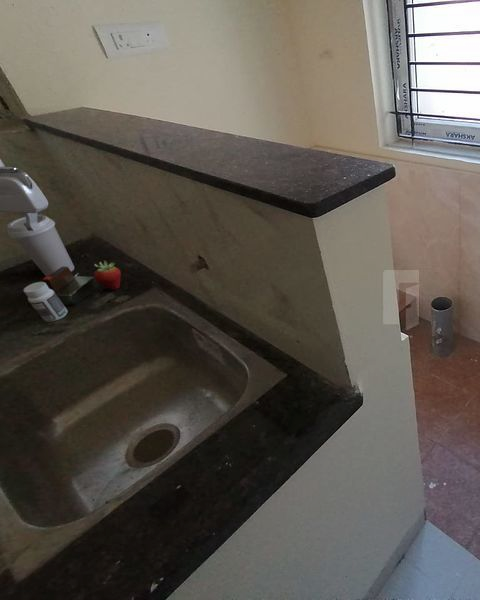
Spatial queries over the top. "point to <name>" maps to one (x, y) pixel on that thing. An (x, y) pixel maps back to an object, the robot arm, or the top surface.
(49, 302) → the pill bottle
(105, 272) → the fruit
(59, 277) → the dark red block
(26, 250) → the coffee cup
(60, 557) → the top surface
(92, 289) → the dial panel
